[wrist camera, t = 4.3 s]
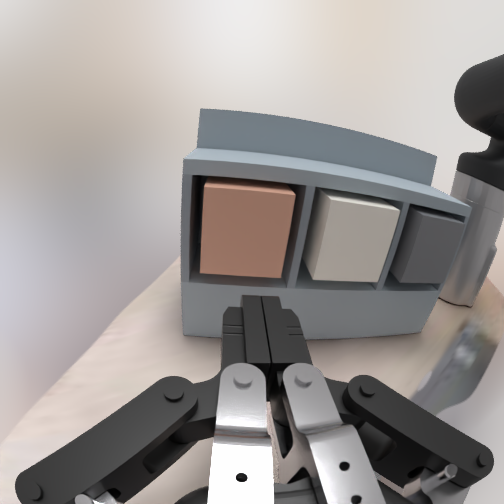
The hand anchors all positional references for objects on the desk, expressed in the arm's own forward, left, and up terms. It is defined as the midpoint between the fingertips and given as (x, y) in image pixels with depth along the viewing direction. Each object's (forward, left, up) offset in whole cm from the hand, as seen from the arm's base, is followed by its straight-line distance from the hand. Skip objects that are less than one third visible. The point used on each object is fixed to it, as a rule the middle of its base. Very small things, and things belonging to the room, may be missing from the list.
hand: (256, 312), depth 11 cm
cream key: (0, -13, -3) cm, 13 cm away
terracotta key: (+6, -8, -3) cm, 10 cm away
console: (+2, -15, -10) cm, 18 cm away
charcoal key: (-6, -18, -3) cm, 19 cm away
